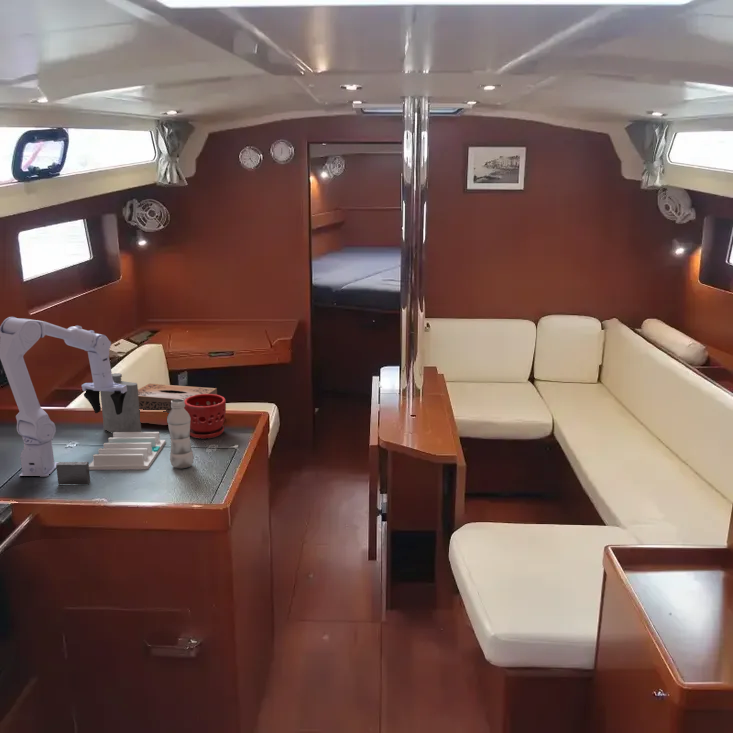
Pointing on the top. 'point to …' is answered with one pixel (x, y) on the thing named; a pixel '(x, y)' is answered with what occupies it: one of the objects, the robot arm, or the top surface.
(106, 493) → the top surface
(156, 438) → the slot rack
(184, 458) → the plastic bottle
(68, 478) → the rectangular block
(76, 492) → the top surface
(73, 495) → the top surface
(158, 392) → the tissue box cover
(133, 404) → the hip flask
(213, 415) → the plant pot
